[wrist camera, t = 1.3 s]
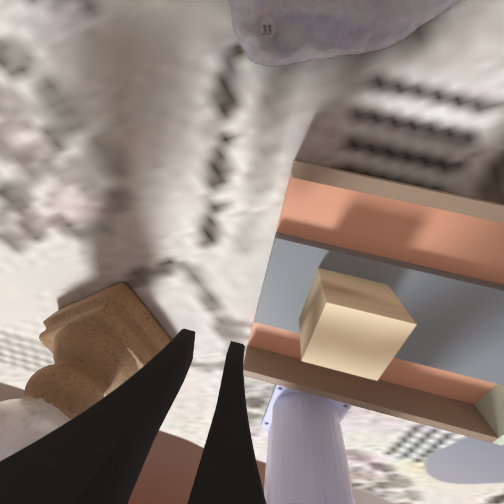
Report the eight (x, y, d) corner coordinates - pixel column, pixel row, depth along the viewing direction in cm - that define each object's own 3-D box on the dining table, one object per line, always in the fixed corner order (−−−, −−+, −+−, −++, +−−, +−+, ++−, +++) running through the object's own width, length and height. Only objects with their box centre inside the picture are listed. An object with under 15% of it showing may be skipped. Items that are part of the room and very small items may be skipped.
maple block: (359, 334, 18) (377, 380, 14) (298, 319, 18) (301, 361, 14) (387, 284, 16) (416, 324, 12) (318, 267, 16) (326, 302, 12)
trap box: (475, 408, 21) (502, 445, 19) (246, 348, 23) (241, 375, 20) (666, 238, 13) (761, 260, 11) (294, 159, 14) (295, 162, 12)
